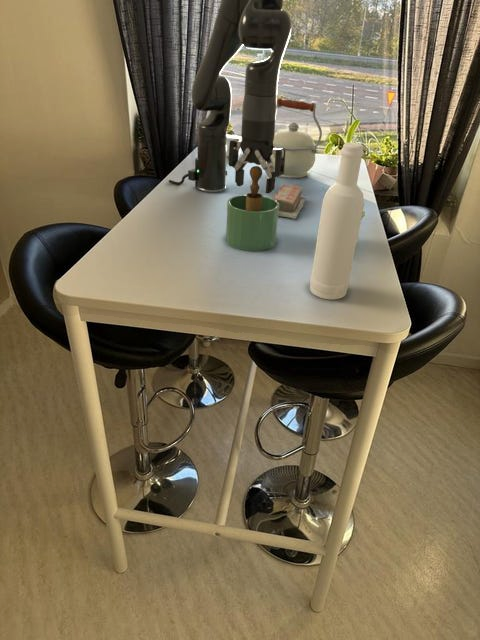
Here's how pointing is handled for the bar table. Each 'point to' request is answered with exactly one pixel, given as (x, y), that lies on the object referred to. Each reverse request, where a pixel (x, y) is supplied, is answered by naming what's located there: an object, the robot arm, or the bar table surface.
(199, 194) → the bar table surface
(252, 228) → the cup
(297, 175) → the kettle
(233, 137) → the white small box
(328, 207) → the bottle
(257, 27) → the robot arm
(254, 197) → the brown knobbed turned figurine
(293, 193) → the packaged product
